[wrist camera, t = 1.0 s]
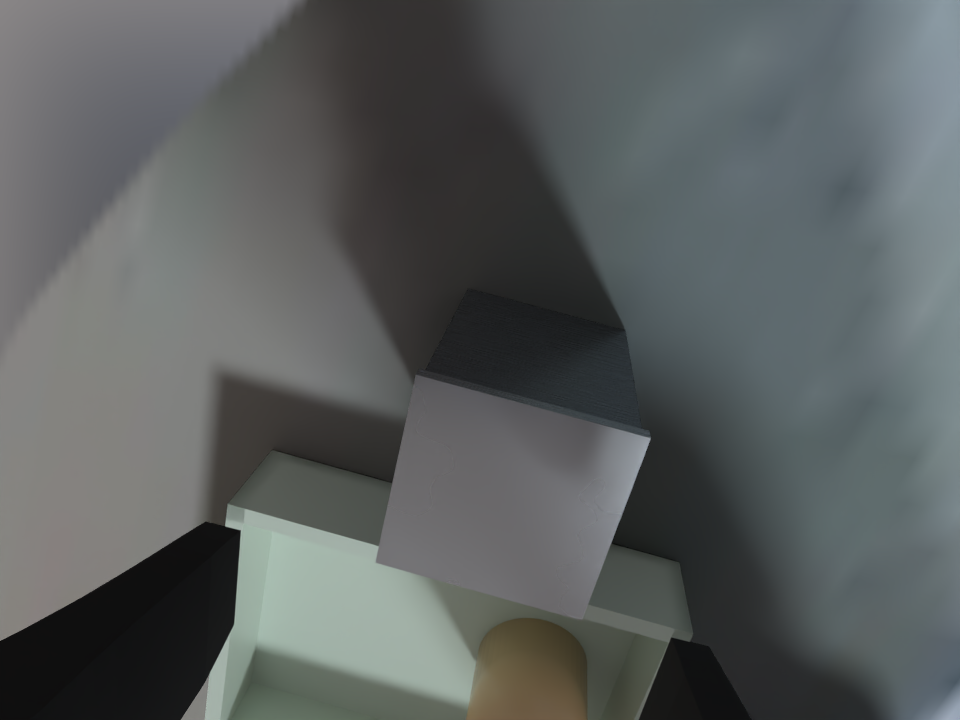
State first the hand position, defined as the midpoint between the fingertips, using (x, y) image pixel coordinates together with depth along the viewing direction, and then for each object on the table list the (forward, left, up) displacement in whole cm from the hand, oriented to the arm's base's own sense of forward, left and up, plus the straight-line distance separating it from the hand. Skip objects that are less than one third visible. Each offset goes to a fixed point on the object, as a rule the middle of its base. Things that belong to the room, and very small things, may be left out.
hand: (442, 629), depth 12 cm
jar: (-3, +9, -9) cm, 13 cm away
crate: (0, +9, -9) cm, 13 cm away
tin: (-1, 0, -10) cm, 10 cm away
